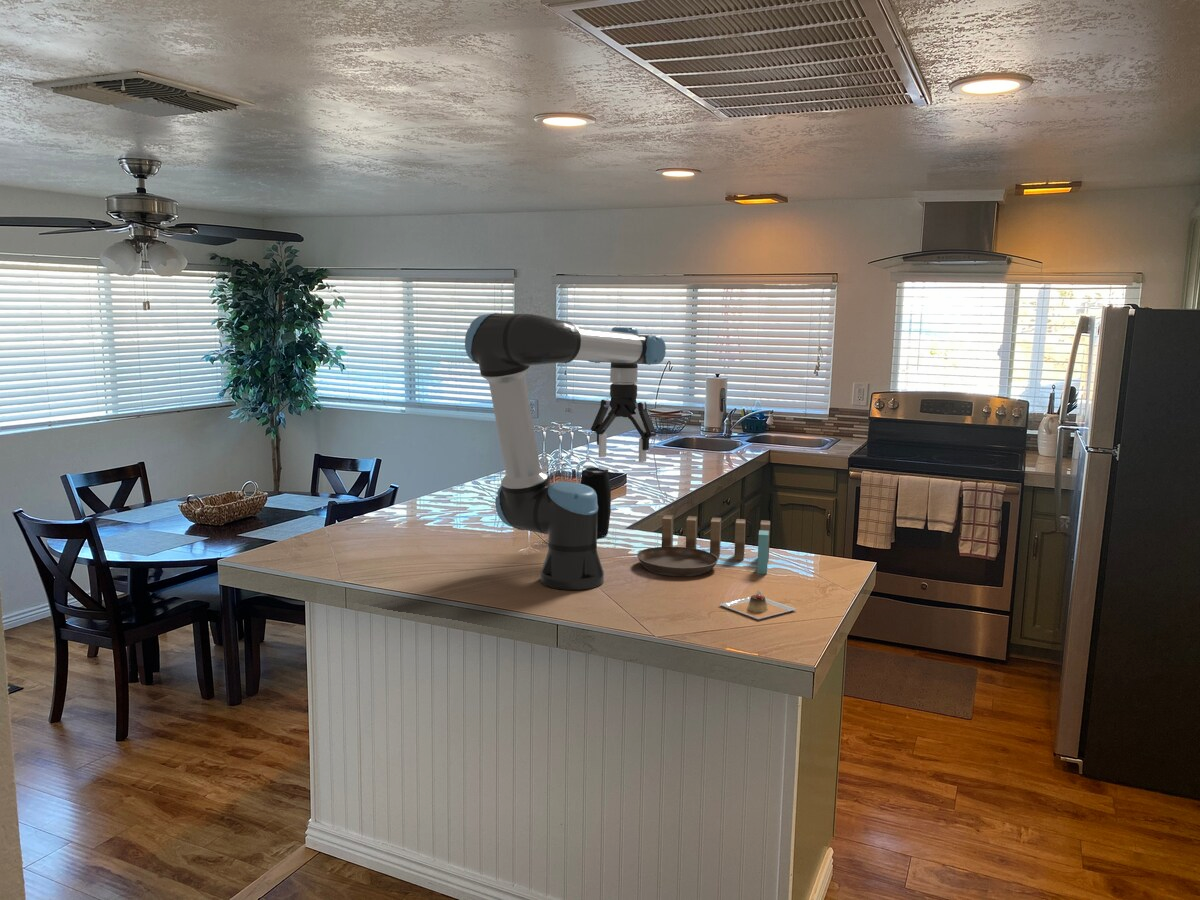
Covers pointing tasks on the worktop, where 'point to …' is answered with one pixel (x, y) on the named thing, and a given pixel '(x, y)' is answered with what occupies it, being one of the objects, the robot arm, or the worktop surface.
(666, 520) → the domino
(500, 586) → the worktop surface
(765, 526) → the domino
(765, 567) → the domino
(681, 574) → the plant saucer
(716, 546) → the domino
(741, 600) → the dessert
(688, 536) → the domino
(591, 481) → the portable speaker
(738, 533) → the domino
